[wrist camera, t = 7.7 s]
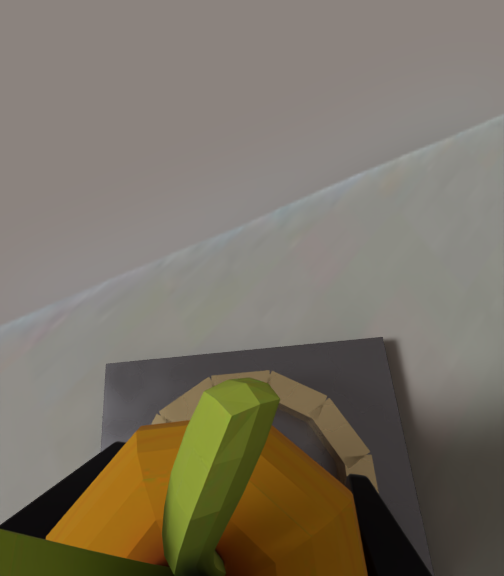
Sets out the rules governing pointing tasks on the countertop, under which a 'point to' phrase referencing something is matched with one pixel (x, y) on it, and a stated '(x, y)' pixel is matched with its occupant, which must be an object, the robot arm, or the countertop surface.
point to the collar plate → (306, 367)
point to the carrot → (203, 503)
